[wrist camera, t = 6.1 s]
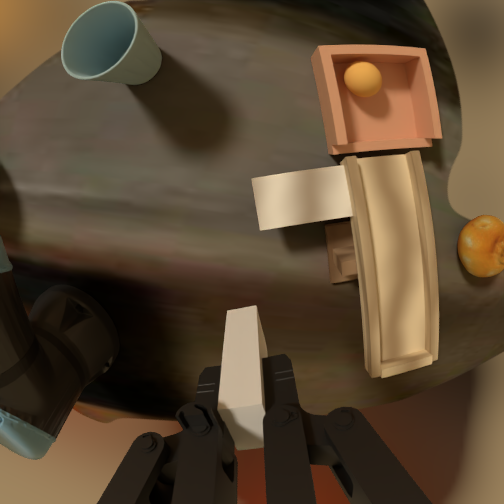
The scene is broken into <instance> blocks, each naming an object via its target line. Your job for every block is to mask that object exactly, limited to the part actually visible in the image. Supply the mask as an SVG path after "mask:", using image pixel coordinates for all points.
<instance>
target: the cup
mask: <svg viewBox="0 0 504 504" xmlns="http://www.w3.org/2000/svg"><path fill="white" fill-rule="evenodd" d="M61 58H62V63H63V66H64V68H65V70H66V71H67V72H68V73H69V74H70V75H71V76H73V77H75V78H77V79H81V80H93V81H106V82H115V83H122V84H130V85H139V84H142V83H145V82H147V81H149V80H150V79H151V78H153V77H154V76H155V75H156V73H157V72H158V70H159V68H160V66H161V61H162V55H161V52H160V49H159V48H158V46H157V44H156V43H155V41H154V40H153V38H152V37H151V35H150V34H149V32H148V31H147V29H146V28H145V26H144V25H143V23H142V22H141V20H140V19H139V17H138V16H137V14H136V13H135V11H134V10H133V9H132V8H131V7H130V6H129V5H127V4H125V3H123V2H118V1H109V2H104V3H100V4H98V5H96V6H93V7H92V8H90V9H88V10H87V11H86V12H84V13H83V14H82V15H80V16H79V17H78V19H76V21H75V22H74V23H73V24H72V26H71V27H70V29H69V30H68V32H67V34H66V36H65V38H64V41H63V45H62V51H61Z"/></svg>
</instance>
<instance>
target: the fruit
mask: <svg viewBox="0 0 504 504" xmlns="http://www.w3.org/2000/svg"><path fill="white" fill-rule="evenodd" d="M457 248H458V255H459V258H460V260H461V262H462V264H463V266H464V267H465V269H466V270H467V271H468V272H469V273H470V274H472V275H474V276H477V277H490V276H493V275H496V274H498V273H500V272H501V271H502V270H503V269H504V223H503V222H502V221H501V220H500V219H498V218H496V217H494V216H490V215H481V216H478V217H476V218H474V219H473V220H471V221H470V222H469V223H467V224H466V225H465V226H464V228H463V229H462V230H461V232H460V235H459V238H458V245H457Z"/></svg>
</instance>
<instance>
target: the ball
mask: <svg viewBox="0 0 504 504" xmlns="http://www.w3.org/2000/svg"><path fill="white" fill-rule="evenodd" d="M344 82H345V85H346V87H347V88H348V89H349V90H350V91H351V92H352V93H353V94H355V95H357V96H360V97H370V96H373V95H375V94H376V93H377V92H378V91H379V90H380V88H381V86H382V76H381V74H380V72H379V70H378V69H377V68H376V67H375V66H374V65H373V64H371V63H369V62H366V61H356V62H353V63H351V64H350V65H349V66H348V67H347V68H346V70H345V72H344Z"/></svg>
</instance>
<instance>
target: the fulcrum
mask: <svg viewBox="0 0 504 504" xmlns="http://www.w3.org/2000/svg"><path fill="white" fill-rule="evenodd" d="M325 234H326V243H327V253H328V264H329V276H330V282H331V284H332V283H337V282H343V281H348V280H354V279H358V271H357V263H356V255H355V248H354V241H353V234H352V227H351V221H346V222H339V223H333V224H327V225H325Z"/></svg>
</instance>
